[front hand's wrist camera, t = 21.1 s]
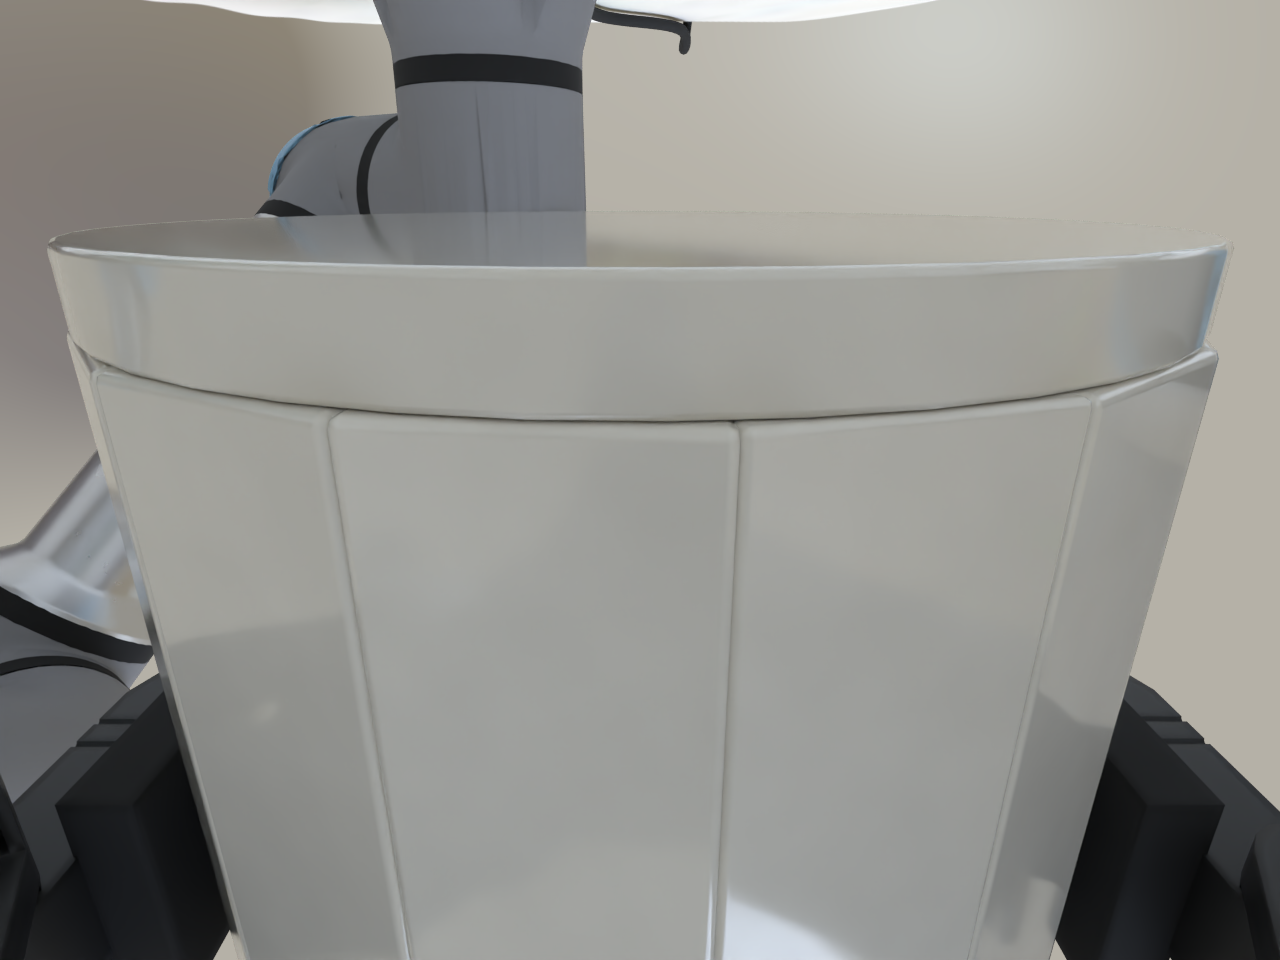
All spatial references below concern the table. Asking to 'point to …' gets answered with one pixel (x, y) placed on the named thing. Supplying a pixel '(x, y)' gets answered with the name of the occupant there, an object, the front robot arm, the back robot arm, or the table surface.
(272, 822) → the grey paneled bucket
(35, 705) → the back robot arm
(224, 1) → the table surface
